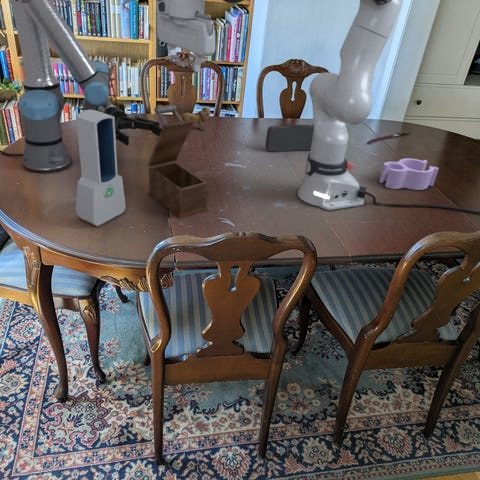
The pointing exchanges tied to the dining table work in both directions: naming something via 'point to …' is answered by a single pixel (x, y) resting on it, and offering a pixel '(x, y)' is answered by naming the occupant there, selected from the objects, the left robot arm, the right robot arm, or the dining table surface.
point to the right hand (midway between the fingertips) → (184, 66)
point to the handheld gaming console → (289, 137)
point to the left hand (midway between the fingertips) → (146, 137)
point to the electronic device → (98, 169)
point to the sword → (386, 137)
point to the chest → (177, 188)
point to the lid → (169, 137)
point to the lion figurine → (197, 116)
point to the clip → (408, 174)
